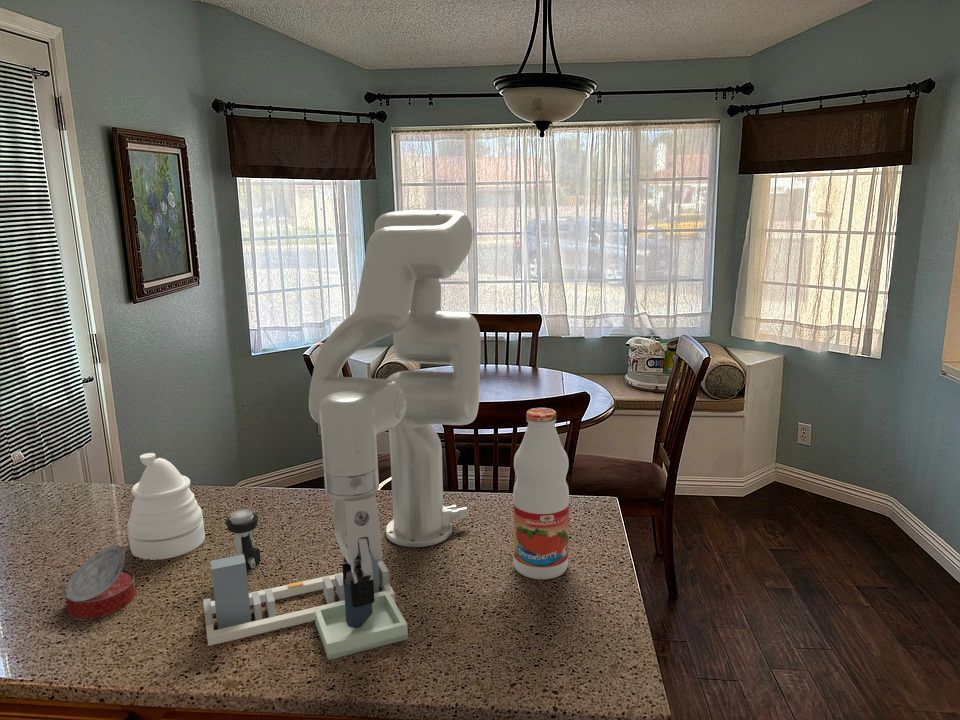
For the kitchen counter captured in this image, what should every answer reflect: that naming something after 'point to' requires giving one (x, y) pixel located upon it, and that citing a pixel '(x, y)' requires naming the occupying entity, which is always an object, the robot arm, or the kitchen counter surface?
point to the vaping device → (354, 614)
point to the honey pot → (163, 513)
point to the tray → (375, 632)
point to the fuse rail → (267, 599)
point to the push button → (244, 535)
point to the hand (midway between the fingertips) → (358, 594)
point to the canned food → (100, 585)
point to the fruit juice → (541, 499)
